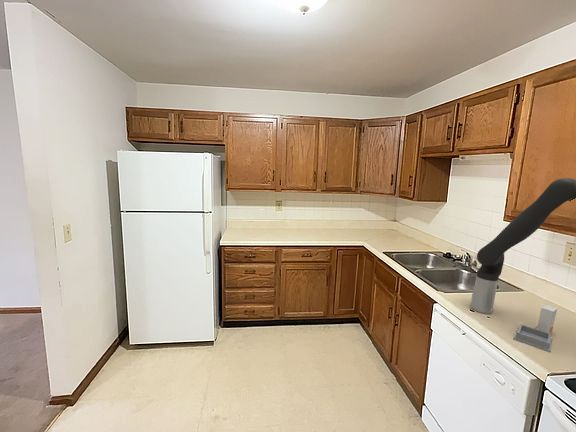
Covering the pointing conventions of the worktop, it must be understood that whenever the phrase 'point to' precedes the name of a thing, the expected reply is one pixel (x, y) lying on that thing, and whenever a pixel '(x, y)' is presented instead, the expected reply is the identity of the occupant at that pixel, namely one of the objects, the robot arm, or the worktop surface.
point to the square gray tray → (534, 337)
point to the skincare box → (547, 318)
